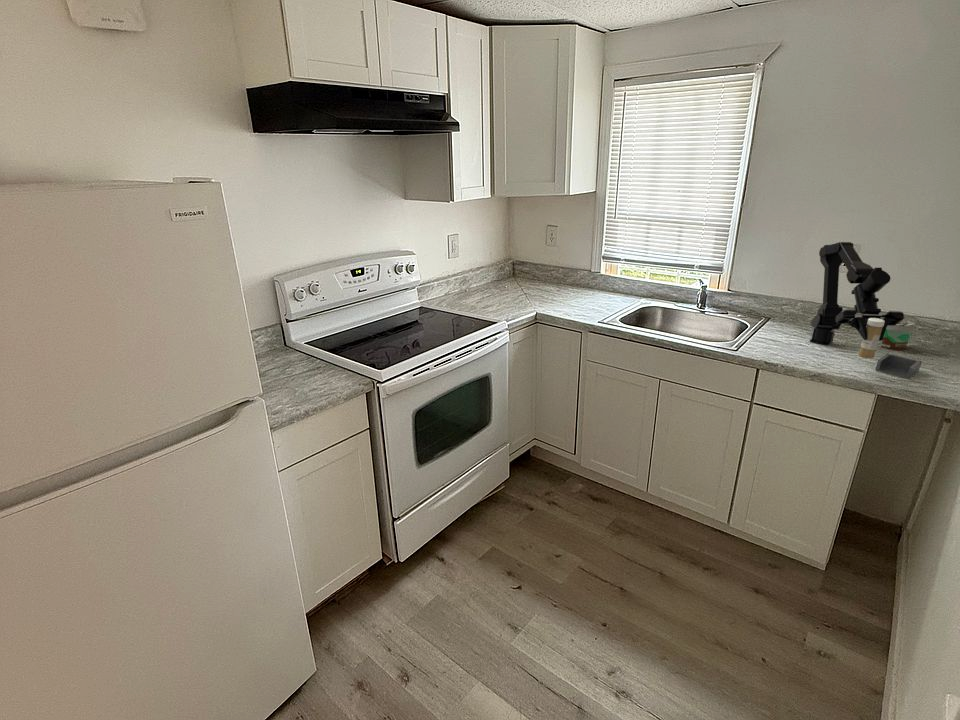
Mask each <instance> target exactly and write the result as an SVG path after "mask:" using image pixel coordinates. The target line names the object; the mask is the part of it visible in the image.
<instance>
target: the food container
mask: <svg viewBox="0 0 960 720" xmlns="http://www.w3.org/2000/svg"><path fill="white" fill-rule="evenodd" d="M915 331H916V325H915V323H914V322H913V321H910V320H907V321H906V322H899V323H898V324H896V325H894V326H887V328H886V331H885V334H884V336H883V339H882V340H881V344H880V348H881V347H882V348H881V349H885V348H886V349H885V350H890V349H891V350H890V351H904V350H905V349H906V347H907V345H908V342H909V340H910V337H911V335H912V333H913V332H915Z"/></svg>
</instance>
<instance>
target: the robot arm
mask: <svg viewBox="0 0 960 720" xmlns="http://www.w3.org/2000/svg"><path fill="white" fill-rule="evenodd" d="M818 254H819V255H818V256H819V261H820V263H821V265H822V266H823V268H824V273H823V289H822V290H823V291H822V292H823V293H822V295H823V296H822V304H821V305H820V307H819V308H818V309H817V313H816V315H815V316H814V317H813V318H812V319H811V321H810V326H811V327H813V331H812V336H811V339H809V342H811V343H815V344H819V345H823V346H828V345H830V344H832V343H833V342H834V339H835V338H834V337H835V335H836V333H835V330H839V329H840V327H841V326H842V325H844V324H845V325H846V324H847V326H849V327H850V328H854V329H856V331H857V332H858V334H859V335H860V337H861V338H862V340H863V339H864V340H866V339H867V329H866V328H867V322H868V319H869V318H879V319H882V320H884V321H885V323H884V326H883V328H882V331H881V334H880V338H879V342H882V339H883V336H884V334H885V331H886V328H887V326H894V325H896V324H898V323H901V322H902V321H903V320H904V319H905V314H904V312H903V311H898V310H897V311H893V310H890V311H888V312H887V313H886V314H880V313H881V312H882V309H881V308H879V307H878V302H880V298H878V297H877V296H876V293H878V292H880V291H881V290H882V289H883V288H884V287H886V286H887V284H889V283H890V282H891V275H889V273H888V272H886V271H885V270H883V268H882V267H874V268H873V266H871V264H868V263H866V262H864V261H863V260H862V259H861V257H860V255H859V254H858V252H857V251H856V249H855V248H854V243H853V242H850V241H838V242H835V243H832V244H831V243H830V244H825V245H823V247H820V249H819V252H818ZM842 264H844V266H845V268H846V270H847V272H846V274H845V275H846V279H847V281H848V282H849V284H856V286H854V287H853V289H852V290H851V294H850V295H854V299H855V304H854V305H853V306H854V307H853V308H854V309H844V308H843V307H842V306H840V305H839V304H838V298H839V297H838V295H839V294H838V293H839V281H840V280H839V278H840V277H839V276H840V266H841V265H842Z"/></svg>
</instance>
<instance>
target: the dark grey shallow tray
mask: <svg viewBox="0 0 960 720" xmlns="http://www.w3.org/2000/svg"><path fill="white" fill-rule="evenodd" d="M922 363H923V361H922V360H918V359H913V358H910V357H904V356H900V355H896V354H891V353H886V354H884V355H883V356H882V357H880V358H879V359H877V362H876V366H875V369H874V371H875V370H876V371H875V372H879V371H880V372H879V373H882V374H883V373H884V374H887V375H890V376H891V375H892V376H896V377H898V376H899V378H902V377H903V378H904V379H906V378H907V380H911V379H912V378H914V376H916V375H917V374H918V373H919V372H920V368H921V365H922ZM917 372H918V373H917ZM916 373H917V374H916ZM910 378H911V379H910Z"/></svg>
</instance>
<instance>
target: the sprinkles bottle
mask: <svg viewBox="0 0 960 720" xmlns="http://www.w3.org/2000/svg"><path fill="white" fill-rule="evenodd" d="M884 323H885V321H884V320H882V319H879V318H869V319H868V322H867V326H866V329H867V339H866V340H864V339H863V338H862V341H861V344H860V349H859V352H858V356H859V357H861V358H863V359H874V358H875V353H876V351H877V349H878V344H879V342H880V341H879V338H880V334H881V331H882V328H883V326H884Z"/></svg>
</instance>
